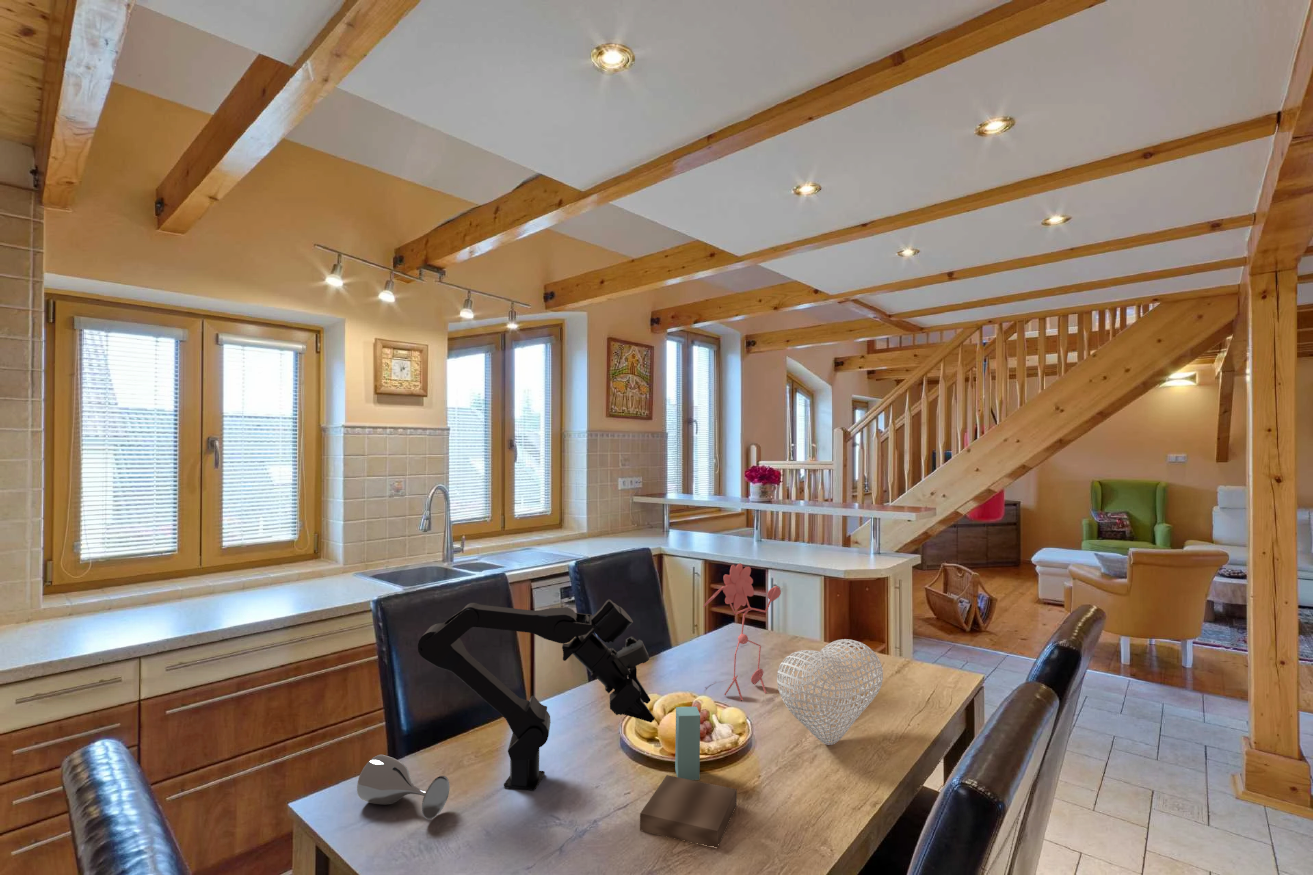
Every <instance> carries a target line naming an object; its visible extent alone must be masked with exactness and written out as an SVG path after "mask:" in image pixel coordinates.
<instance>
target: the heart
mask: <svg viewBox="0 0 1313 875" xmlns="http://www.w3.org/2000/svg"><path fill="white" fill-rule="evenodd" d="M846 649H848V650H846ZM857 649H858V650H857ZM859 654H860V655H859ZM846 655H847V656H848V657H847V656H846ZM854 656H855V658H854ZM868 657H869V660H870V661H869V660H868ZM858 662H860V665H861V666H859V664H858ZM847 663H848V664H847ZM793 664H794V665H793ZM854 664H855V665H856V666H855V667H854ZM798 665H799V666H798ZM788 667H789V668H788ZM868 668H869V670H868ZM883 670H884V668H883V665H882V663H881V660H880V658H879V657H878V655H877V654H876V652H875V651H874V650H873V649H872V648H871V647H870V646H868V645H866V644H864V643H863V642H861V641H857V640H853V639H847V638H844V639H843V638H842V639H837V640H833V641H832V642H829V643H828V644H826V645H825V646H824V647H823V648H821V649H820V651H818V650H809V649H807V650H806V649H802V650H798V651H795V652H792V653H790V654H789V655H787V656H785V658H784V659H783V660H782V661H781V663H780V664H779V666H778V669H777V675H776V682H777V690H778V692H779V695H780V698H781V699H782V701H783V703H784V705H785V706H786V708H787V709H788V711H789V712H790V713H791V714H792V715H793V716H794V717H795V719H797V721H798V722H800V723H801V724H802V725H803V726H804V727H805V728H806V729H807V730H808V731H809V732H810V733H811V735H813V737H815V738H816V739H817V740H818V741H820V743H823V744H824V745H827V746H833V745H835V744H836V743H838V742H839V741H840V740H841V739H842V738H843V737H844V736H845V735H846V734H847V732H848V731H849V729H850V728H851V726H853V724H854V723H855V722H856V721H857V719H858V718H859V717H860V716H861V714H862V713H863V712H864V711H865V710H866V708H868V706H869V705H870V704H871V703H872V702H873V701H874V700H875V698H876V696H877V695H878V693H879V692H880V690H881V689H882V686H883V681H884V671H883ZM791 671H792V672H791ZM818 671H819V672H818ZM857 671H859V675H858V674H857V673H858V672H857ZM796 672H797V673H796ZM800 672H801V676H800ZM863 672H864V673H863ZM795 673H796V676H795ZM853 673H854V674H853ZM868 674H869V675H868ZM823 675H824V676H825V677H826V679H825V678H824V676H823ZM812 676H813V677H812ZM839 678H840V680H839ZM804 679H806V680H804ZM856 680H857V684H856ZM861 681H862V683H860V682H861ZM799 682H800V683H799ZM814 682H815V683H814ZM818 682H819V684H818ZM837 685H838V686H837ZM841 685H842V686H841ZM805 686H806V689H805ZM810 686H811V688H810ZM825 686H826V688H825ZM832 687H833V689H832ZM841 687H842V688H841ZM816 689H817V691H818V693H816ZM792 690H793V691H792ZM857 690H858V692H857ZM811 691H812V693H811ZM837 692H838V693H837ZM830 693H832V695H831V696H830ZM802 694H803V698H802ZM823 694H825V695H826V696H824V695H823ZM862 694H863V695H862ZM866 694H867V695H866ZM796 695H798V698H797V696H796ZM818 698H819V699H818ZM853 698H854V699H853ZM808 699H809V700H810V701H808ZM825 702H826V703H825ZM798 703H799V704H800V706H799V704H798ZM803 704H805V705H803ZM810 706H811V707H812V709H811V708H810ZM815 706H817V707H815ZM801 711H802V712H803V713H802V712H801ZM812 712H813V713H814V714H813V713H812ZM817 712H819V714H818V713H817ZM829 741H830V742H829ZM831 741H832V742H831Z"/></svg>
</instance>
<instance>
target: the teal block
mask: <svg viewBox="0 0 1313 875" xmlns="http://www.w3.org/2000/svg"><path fill="white" fill-rule="evenodd" d="M674 750H675V751H674V754H675V757H674V758H675V761H674V764H675V765H674V766H675V767H674V769H675V775H676V777H679V778H684V779H689V780H694V781H699V780H700V774H701V772H700V769H701V767H700V766H701V765H700V764H701V762H700V761H701V760H700V759H701V754H700V753H701V752H700V751H701V714H700V711H699V709H698V706H676V707H675V748H674Z"/></svg>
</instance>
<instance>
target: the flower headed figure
mask: <svg viewBox="0 0 1313 875" xmlns="http://www.w3.org/2000/svg"><path fill="white" fill-rule="evenodd" d="M751 572H752V569H751V567H750V566H745V567H744V568H743V564H742V563H741V562H740V563H737V565H735V564H732V565H731V566H730V569H729V574H724V575H723V579H722V580H723V583H724V584H725V586H721V587H720V588H719V589H718V590H716V591H715V592H714V593H713V594H712V596H711V597H710V598H708V600H707V601H706V602H705V603H704V604H703V606H702V607H703V608H705V607H706V606H707V605H709V603H711V602H712V601H713V600H714V599H715V598H716V597H717V596H718V595H719V594H720V593H721V591H722V592H723V594H724V595H725V598H724V602H725V604H726V605H729V606H730V608H731V611H732V613H733V615H734V616H736V615H739V614H741V613H743V612H744V613H743V615H742V623H741V633H740V635H738V637H737V641H738V642H737V646H736V649H735V652H734V657H733V658H734V660H733V678H732V681H731V683H730V684H729V686H728V688H727V690H725V693H724V694H723V696H724V695H725V696H727V694H728V692H729V690H730V689H731V687H732V686H733V685H734V683H735V686H736V688H737V691H738V695H739V698H740V701H741V700H743V701H744V698H743V696H742V692H741V690H740V687H739V683H738V680H737V678H738V676H739V675H738V674H737V675H736V666H737V665H736V662H737V653H738V649H739V646H740V644H741V645H745V644H747V643H748V642H749V643H751V644H752V645H753V644H754V645H756V646H758V647H759V650H758V660H757V669H756V670H755V671H754V672H753V674H752V675H751V677H750V682H751V683H752V685H755V686H756V685H757V684H758V683H759V681H760V682H761V686H762V689H763V693H765V694H767V690H766V686H765V684H764V680H763V676H764V674H765V673H764V670H763V668H760V661H761V651H762V649H761V648H762V646H761V644H758V643H757V642H754V641H751V640H749V637H748V635H747V634H745V633H744V629H745V628H744V626H745V619H746V615H747V614H748V612H749V611H757V612H759V613H760V612H761V613H767V612H768V610H769V607H770V605H771V603H772V602H774V601H775V600H777V599H778V598H779V597H780V596H781V595H782V590H781V588H780V587H779V586H778V585H775V586H774V587H771V588H770V589H769V590H768V592H767V598H768V603H767V605H766V607H765V610H764V609H760V608H755V607H751V606H750V602H749V599H748V597H750V598H751V597H753V596H754V595H755V590H754V587H753V585H752V584H754V579H753V578H752V577H751V576H750V575H751ZM746 605H747V607H745V606H746ZM741 606H742V607H745V608H743V609H741V610H738V609H740V607H741ZM735 610H736V611H737V610H738V611H737V612H736V611H735Z"/></svg>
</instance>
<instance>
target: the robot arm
mask: <svg viewBox="0 0 1313 875" xmlns="http://www.w3.org/2000/svg"><path fill="white" fill-rule="evenodd" d="M633 623H634V621H633V619H632V618H631V617H630V615H629V613H627V611H625V609H623V608H622V607H621V606H619V605H617V603H615V602H613V601H612V600H611V599H609V598H608V599H607V600H606V601H605V602H604V604H603V605H602V606H601V607H600V608H599V609H598V610H597V612H595V613H594V614H589V613H580V612H575V611H574V609H572V608H571V607H564V606H563V607H551V608H550V607H549V608H546V609H538V610H537V609H536V610H531V609H522V608H514V607H513V608H512V607H504V606H495V605H488V604H487V605H486V604H485V605H484V604H479V603H477V602H470V603H468V604H466V605H465V606H464V608H462V609H461V610H460V611H458V612H457V613H456V614H454V615H452V616H451V617H450V618H448V619H447V620H445V622H440V623H436V624H435V623H434V624H433V625H431V626H430V627H429V628H427V630H426V632H424V633H423V635H422V636H421V637H420V638H419V640H418V643H417V653H418V655H419V657H420V658H422V659H423V660H425V661H426V662H427V663H430V664H431V665H433V666H434V667H436V668H439V669H441V670H445V671H447V672H451V673H453V674H454V675H455V676H456V677H457V678H458V679H459V680H460V681H462V682H463V683H464V684H465V685H466V686H467V687H469V688H470V689H471V690H472V691H473V692H475V693H476V695H478V696H479V697H480V698H481V699H482V700H483V701H485V703H487V704H488V705H489V706H490V707H492V709H493V710H495V711H497V713H498V714H500V715H501V717H503V718H504V719H505V721H506V722H507V725H508V726H509V728H510V730H511V732H512V734H511V738H510V742H509V746H508V749H507V753H508V757H509V761H510V762H509V764H510V765H509V770H510V771H509V772H510V773H509V777H508V778H507V779H506V780H505V782H504V783H503V788H506V789H507V788H508V789H517V790H518V789H519V790H531V791H534V790H536V789H537V787H538V786H539V785H540V782H541V781H542V779H543V778H544V776H545V774H546V772H545V770H540V748H542V747H543V746H544V745H545V744H546V743H547V741H548V739H549V736H550V728H551V715H550V713H549V711H548V706H546V705H544V704H542V703H541V702H539V700H538V699H537V697H536V696H535V695H531V696H530V698H529V700H527V699H525V698H521V697H519V696H518V695H517V694H516V693H515V692H513V691H512V690H511V689H510V688H509V687H508V686H507V685H506V684H504V683H503V682H502V681H501V680H499V678H498V677H496V676H495V675H494V674H493V673H492V672H490V670H488V669H487V668H486V667H485V666H484V665H483V664H482V663H480V662H479V661H478V660H477V659H476V658H474V657H473V656H472V655H471V654H470V653H469V651H468V650H467V649H466V646H465V645H464V642H463V641H462V639H461V637H462V636H463V635H464V634H466V633H467V632H468V631H469V630H471V629H472V628H482V629H493V630H499V631H500V630H501V631H502V630H503V631H509V632H510V631H511V632H518V633H519V632H520V633H528V634H529V633H530V634H532V635H535V636H538V637H540V638H542V639H544V640H548V641H551V642H555V643H556V644H557V643H558V644H561V649H562V660H563V661H565V662H566V661H567V660H568V659H570V657H571V656H572V655H573V656H574V657H575V658H576V659H577V660H578V661H579V662H580V664H582V665H583V666H584V667H585V668H586V669H587V670H588V671H589V672H590V676H591V677H592V679H593V680H595V679H597V680H598V681H599V682H600V683H601V684H603V686H604V689H605V692H606V693H608V694H609V709H610V710H611V711H612V713H614V715H615V716H619V715H620V716H622V715H624V716H628V717H632V718H635V719H638V720H643V721H644V722H647V723H652V722H654V721H655V720H656V719H655V716H654V714H652V712H651V710H650V709H649V708H648V706H647V705H646V704H649V703H650V702H651V698H650V697H649V695H648V693H647V691H646V690H645V688H644V687H643V685H642V683H641V682H640V680H639V679H638V677H637V673H638V671H637V670H638V669H637V666H639V665H642V664H646V663H647V662H648V661H649V660H650V657H649V653H648V651H647V649H646V646H645V644H644V642H643V640H641V639H638V640H637V638H635V637H634V636H629V637H628V638H625V646H623V647H622V649H620V650H618V651H616V650H615V648H613V647H610V648H609V647H608V646H607V645H606V644H605V643H608V644H609V643H614V642H615V641H616V640H617V639H618V638H619V637H621V635H622V634H623V633H624V632H626V630H627V629H628V628H629V627H630V626H631V625H632V624H633ZM597 636H598V637H597Z"/></svg>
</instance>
